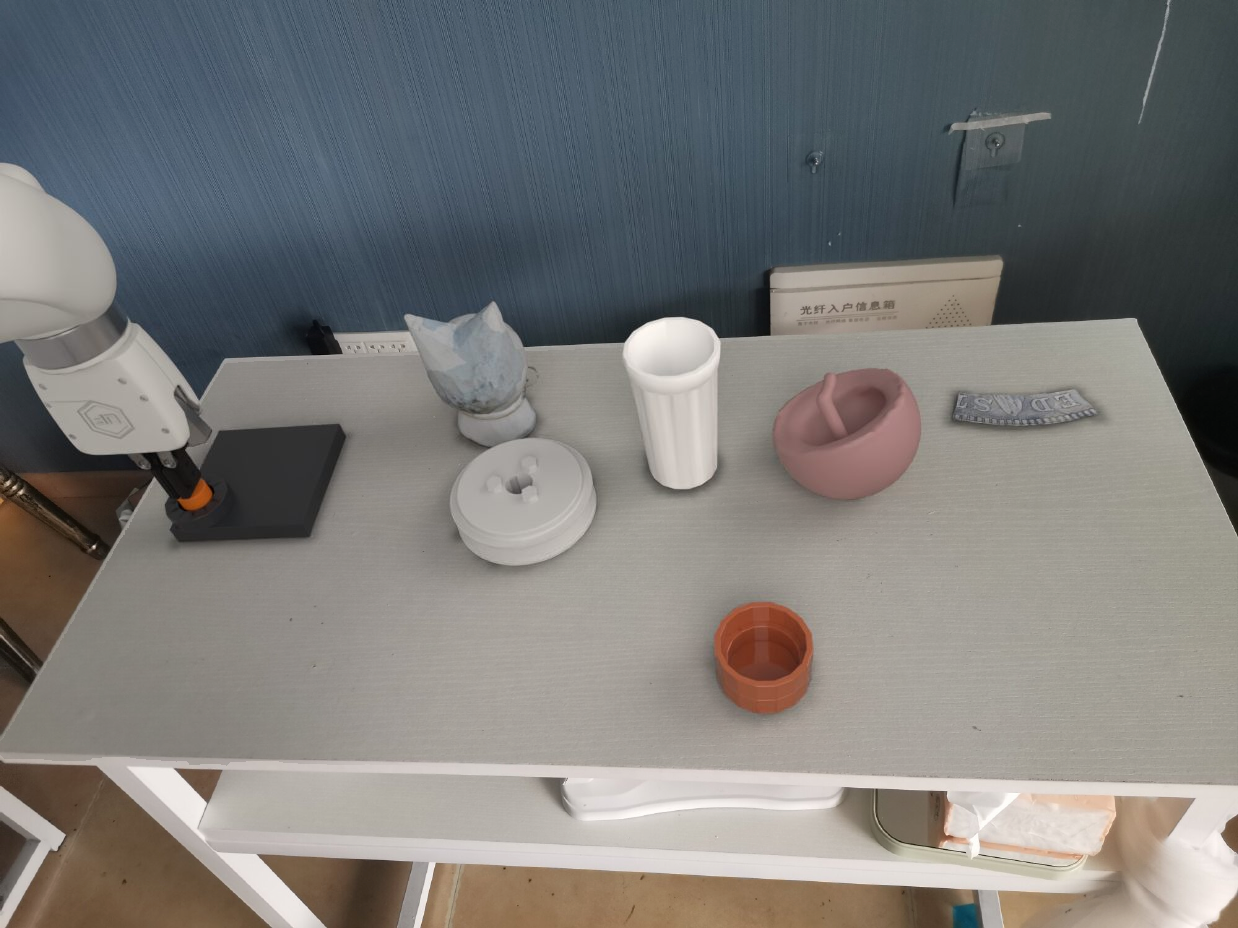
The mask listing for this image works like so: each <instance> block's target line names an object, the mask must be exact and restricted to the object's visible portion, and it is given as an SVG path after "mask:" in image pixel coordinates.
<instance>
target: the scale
mask: <svg viewBox="0 0 1238 928" xmlns="http://www.w3.org/2000/svg"><path fill="white" fill-rule="evenodd" d="M346 437H347V436H346V434H345V432H344V430H343V428H342V426H341V424H340V423H326V424H308V425H291V426H275V427H274V426H273V427H257V428H256V427H255V428H238V429H237V428H236V429H224V430H220V429H219V430H218V432H217V434H216V436H215V438H214V439H213V442H212V444H211V445H210V448H209V449H208V452H207V454H206V456H205V458H204V460H203V462H202V464H201V466H200V468H199V471H200V472H201V479H203V480H204V481H205V482H206V484H207V485H208V487H209V488H210V489H211V491H212V494H213V495H212V499H211V500H210V501H209V502H208V503H207V504H206V505H205V506H204V507H202V508H199V509H197V510H195V511H188V510H186V509H184V508H183V506H182V505H181V504H180V502H179V501H178V500H177V499H175V500H172V499H171V498H170V497H169V496H168V497H167V499H166V501H165V503H164V510H165V515H166V517H167V518H168V519H169V521H170V522H171V523H172V524H171V526H170V528H169V531H170V533H171V534H172V535H173V536H174V538H175V539H176V540H177V542H178V543H194V542H197V543H198V542H217V541H218V542H219V541H221V542H222V541H242V540H243V541H244V540H266V539H269V540H270V539H291V538H294V539H295V538H310V536H311V533H312V532H313V528H314V526H315V523H316V520H317V518H318V515H319V513H320V510H321V506H322V503H323V501H324V498H325V495H326V494H327V493H326V492H327V490H328V487H329V484H330V481H331V479H332V476H333V473H334V471H335V467H336V465H337V462H338V459H339V457H340V454H341V451H342V448H343V446H344V443H345V440H346Z"/></svg>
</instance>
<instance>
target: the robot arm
mask: <svg viewBox="0 0 1238 928" xmlns="http://www.w3.org/2000/svg"><path fill="white" fill-rule="evenodd" d="M116 271H117V270H116V265H115V263H114V259H113V257H112V255H111V252H110V250H109V248H108V246H107V245H106V243H105V242H104V240H103V238H102V237H101V235H100V234H99V233H98V231H97V230H96V229H95V228H94V227H93V225H91V224H90V223H89V221H88V220H86V219H85V218H84V217H83V216H82V215H80V213H79V212H77V211H76V210H74V209H73V207H70V206H69V205H67V204H65V203H64V202H62V201H61V200H60V199H58V198H56V197H54V196H53V195H50V194H48V193H47V192H46V190H45V189H44V188H43V185H41V184H40V182H39V180H37V178H36V177H35V176H34V175H33V174H32V173H31V172H29V171H28V170H27V169H26V168H23V167H22V166H19V165H17V164H13V163H7V162H0V344H3V343H7V342H11V341H13V342H14V343H15V344H16V346H17V347H18V348H19V349H20V351H21V352H22V353H23V355H24V356H23V358H22V364H23V366H24V369H25V371H26V374H27V376H28V378H29V380H30V383H31V384H32V387H33V388H34V391H35V392H36V395H38V397H39V399H40V400H41V402H42V404H43V405H44V407H45V409H46V410H47V411H48V413H49V414H50V416H51V417H52V419H53V421H54V422H55V423H56V424H57V426H58V427H59V429H60V430H61V431H62V433H63V434H64V435H65V437H66V438H67V439H68V440H69V442H71V444H72V445H73V446H74V447H75V448H76V449H77V450H78V451H79V452H81V453H84V454H87V455H93V456H108V455H123V456H126V457H128V458H130V460H131V461H132V462H133V463H135V465H136V466H137V467H138V468H140V469H142V470H147V471H148V470H150V473H151V475H152V476H153V477H154V479H155V480H156V481H157V483H158V484H159V485H160V486H161V488H162V489H163V490H164V492H165V493H166V495H167V496H168V497H170V498H171V499H172V500H175V499H179V498H182V499H190V498H191V496H192V494H193V492H194V490H195V488H196V486H197V484H198V482H199V480H200V478H201V472H200V471H199V470H200V468H198V465H196V463H195V462H194V460H193V459H192V458H191V456H190V454H189V453H188V452H187V449H188V448H189V447H191V448H193V447H197V446H200V445H204V444H206V443H207V442H208V441H209V439H210V438H211V437H210V436H211V434H212V433H213V429H212V428H211V426H210V425H209V424H208V423H207V422H206V421H204V420H203V419H202V417H201V415H202V414H203V413H204V409H203V407H202V403H201V402H200V400H199V398H198V396H197V395H196V393H195V391H194V389H193V388H192V387H191V385H190V384H189V382H188V381H187V379H186V378H185V377H184V375H183V374H182V372H181V371H180V370H179V369H178V367H177V366H176V364H175V363H174V362H173V361H172V359H171V358H170V357H169V355H167V353H166V352H165V351H164V350H163V348H161V346H160V345H159V344H158V343H157V342H156V341H155V340H154V339H153V338H152V337H151V335H150V334H149V333H148V332H147V331H145V330H144V328H142V327H141V325H139V324H138V323H135V322H131V319H130V318H129V316H128V315H127V314H126V312H125V310H124V309H123V307H122V306H121V304H120V303H119V302H118V299H116V297H115V296H116V291H117V287H118V286H117V285H118V284H117V283H118V282H117V272H116Z"/></svg>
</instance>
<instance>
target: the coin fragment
mask: <svg viewBox="0 0 1238 928" xmlns="http://www.w3.org/2000/svg"><path fill="white" fill-rule="evenodd" d="M1100 413H1101V411H1099V410H1097V409H1096V408H1095V407H1094V406H1093V405H1092V404H1090V403H1089V402H1088V401H1087V400H1085V398H1083V397H1082V396H1081V394H1080V393H1079V392H1078V391H1077V390H1076V389H1075V388H1073V389H1068V390H1067V389H1066V390H1061V391H1056V392H1049V393H1048V392H1047V393H1036V394H1028V395H1018V394H1015V395H1011V394H988V393H987V394H986V393H985V394H977V393H966V392H961V391H959V392H958V397H957V402H956V406H955V409H954V410H953V414H952V420H958V421H966V422H971V423H978V424H980V423H982V424H986V425H996V426H1016V427H1017V426H1031V425H1032V426H1037V425H1050V424H1051V425H1052V424H1059V423H1063V422H1070V421H1074V420H1077V419H1081V418H1084V417H1089V416H1093V415H1096V414H1100Z"/></svg>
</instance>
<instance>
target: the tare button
mask: <svg viewBox="0 0 1238 928" xmlns="http://www.w3.org/2000/svg"><path fill="white" fill-rule="evenodd" d="M212 495H213V494H212V491H211V489H210V488H209V487H208V485H207V484H206V482H205V481H204V480H203V479H201V478H200V480H199V482H198V484H197V486H196V488H195V490H194V492H193V494H192V496H191V498H190V499H182V498H179V499H177V500H178V501H179V502H180V504H181V505H182V506H183V508H184V509H186V510H188V511H195V510H197V509H199V508H202V507H204V506H205V505H206V504H207V503H208V502H209V501H210V500H211V499H212Z"/></svg>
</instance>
